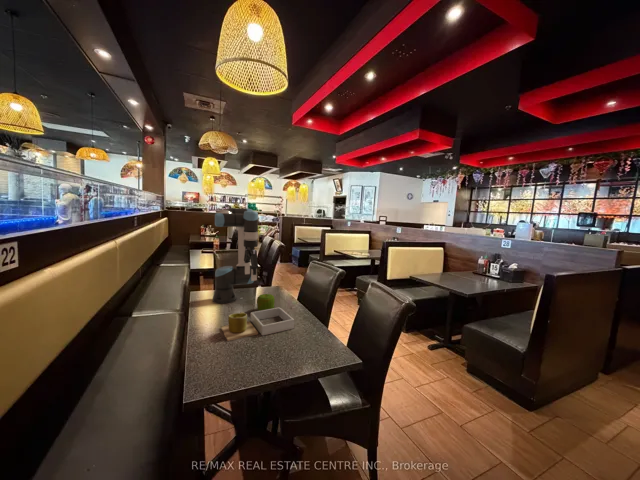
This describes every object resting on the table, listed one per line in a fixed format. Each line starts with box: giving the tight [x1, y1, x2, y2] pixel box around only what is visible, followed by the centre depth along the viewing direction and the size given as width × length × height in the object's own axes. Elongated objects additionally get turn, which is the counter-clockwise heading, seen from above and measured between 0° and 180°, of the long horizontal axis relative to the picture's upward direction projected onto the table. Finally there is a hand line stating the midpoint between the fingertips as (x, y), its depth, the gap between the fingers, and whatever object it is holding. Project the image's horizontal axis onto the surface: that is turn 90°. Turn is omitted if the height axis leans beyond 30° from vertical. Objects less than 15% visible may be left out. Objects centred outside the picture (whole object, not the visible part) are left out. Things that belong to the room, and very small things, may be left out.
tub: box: [250, 306, 295, 336], centre depth 143 cm, size 20×18×5 cm
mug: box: [227, 311, 248, 333], centre depth 134 cm, size 12×10×10 cm
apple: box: [256, 293, 276, 311], centre depth 163 cm, size 11×11×11 cm
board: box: [220, 320, 259, 342], centre depth 134 cm, size 15×15×1 cm
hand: (250, 277), depth 143 cm, fingers open, 13 cm apart
